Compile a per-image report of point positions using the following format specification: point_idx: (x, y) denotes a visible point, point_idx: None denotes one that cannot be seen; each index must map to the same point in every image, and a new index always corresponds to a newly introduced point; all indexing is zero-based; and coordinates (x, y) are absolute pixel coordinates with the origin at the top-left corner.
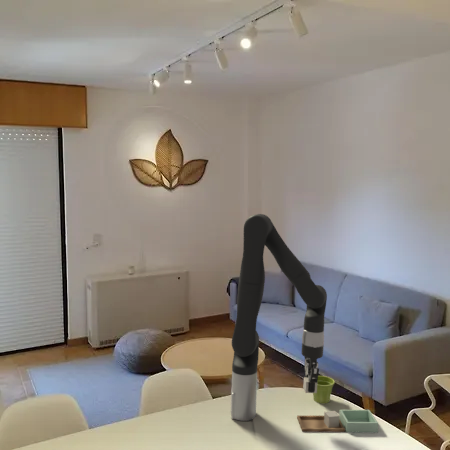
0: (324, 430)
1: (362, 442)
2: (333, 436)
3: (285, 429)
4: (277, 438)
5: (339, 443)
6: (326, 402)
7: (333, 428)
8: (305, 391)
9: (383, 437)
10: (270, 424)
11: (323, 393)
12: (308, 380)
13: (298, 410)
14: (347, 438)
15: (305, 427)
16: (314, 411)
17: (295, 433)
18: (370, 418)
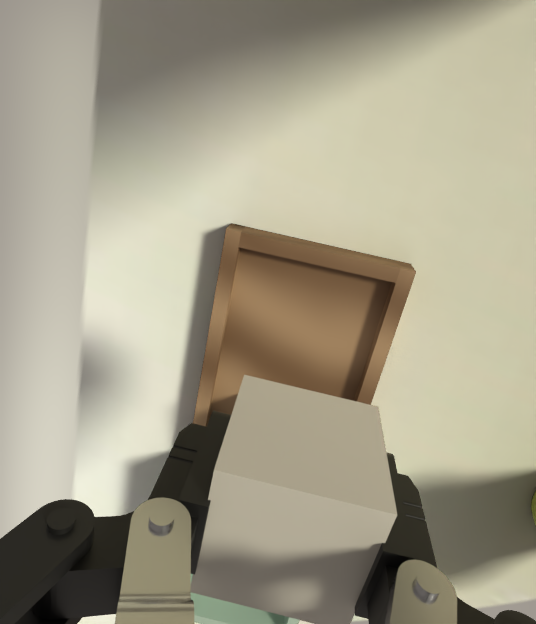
0: (205, 355)
1: (101, 470)
2: (170, 376)
3: (301, 129)
4: (192, 19)
5: (99, 372)
6: (534, 516)
7: (202, 407)
8: (241, 383)
9: None
10: (401, 35)
11: None
12: (158, 513)
13: (527, 324)
14: (142, 429)
15: (273, 267)
16: (474, 409)
17: (236, 179)
18: (240, 605)
